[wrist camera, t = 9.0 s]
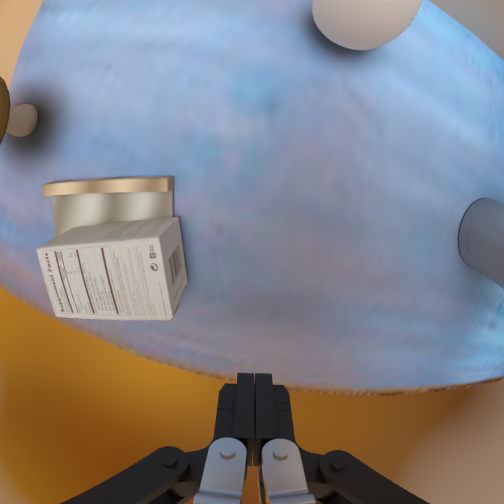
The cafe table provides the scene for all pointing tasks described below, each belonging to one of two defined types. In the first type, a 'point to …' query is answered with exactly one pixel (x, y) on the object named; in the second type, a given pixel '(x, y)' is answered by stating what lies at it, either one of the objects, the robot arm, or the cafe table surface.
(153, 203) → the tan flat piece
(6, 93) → the mushroom
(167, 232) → the supplement box
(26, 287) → the cafe table surface
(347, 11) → the sauce bottle
